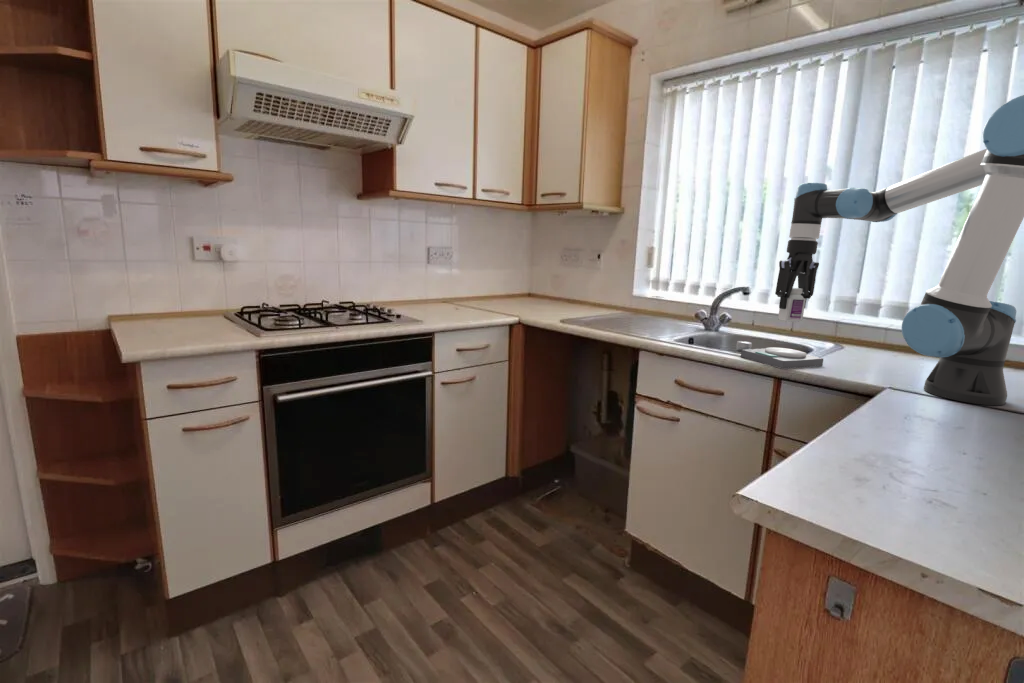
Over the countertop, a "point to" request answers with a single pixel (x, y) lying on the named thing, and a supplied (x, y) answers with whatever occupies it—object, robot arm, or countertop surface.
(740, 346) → the spacer
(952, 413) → the countertop surface
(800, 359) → the scale
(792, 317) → the pill bottle
